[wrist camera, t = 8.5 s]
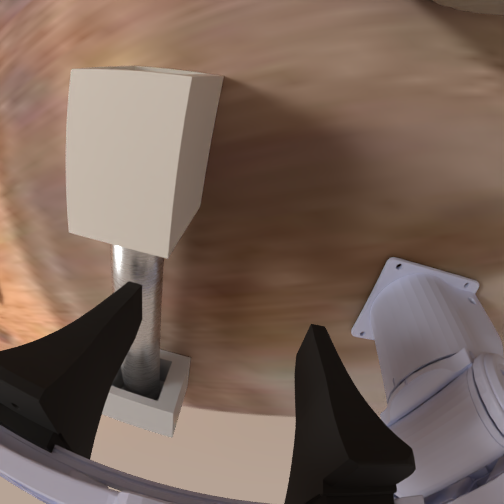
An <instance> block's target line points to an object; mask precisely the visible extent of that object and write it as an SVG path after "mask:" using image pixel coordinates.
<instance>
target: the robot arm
mask: <svg viewBox="0 0 504 504" xmlns="http://www.w3.org/2000/svg"><path fill="white" fill-rule="evenodd" d="M398 264H401V265H400V266H399V267H396V266H397V265H398ZM466 283H467V284H466ZM465 284H466V285H465ZM478 288H479V283H478V282H477V281H476V280H473V279H469V278H466V277H463V276H459V275H456V274H452V273H449V272H446V271H442V270H439V269H435V268H432V267H428V266H425V265H421V264H418V263H414V262H410V261H407V260H403V259H400V258H396V257H391V258H389V259H388V260H387V262H386V264H385V266H384V268H383V270H382V272H381V274H380V276H379V278H378V280H377V282H376V284H375V286H374V288H373V290H372V292H371V294H370V296H369V298H368V300H367V302H366V304H365V306H364V308H363V309H362V311H361V313H360V315H359V317H358V319H357V321H356V322H355V324H354V326H353V328H352V330H351V332H352V335H353V336H355V337H360V338H366V339H371V340H375V344H376V349H377V353H378V358H379V363H380V368H381V373H382V378H383V383H384V388H385V393H386V399H387V404H388V406H387V408H386V409H385V410H384V411H383V412H382V413H381V414H380V417H381V419H380V418H379V417H378V416H377V414H376V413H375V412H374V411H373V410H372V409H371V407H370V406H369V405H368V403H367V402H366V401H365V399H364V398H363V397H362V395H361V394H360V392H359V391H358V389H357V388H356V386H355V385H354V383H353V381H352V380H351V378H350V376H349V374H348V373H347V371H346V369H345V367H344V365H343V363H342V361H341V359H340V357H339V355H338V353H337V351H336V349H335V347H334V345H333V343H332V341H331V338H330V336H329V334H328V332H327V330H326V328H325V327H324V326H319V325H314V324H311V325H310V327H309V330H308V332H307V334H306V336H305V338H304V340H303V342H302V345H301V347H300V349H299V351H298V353H297V355H296V365H295V408H296V430H295V441H294V449H293V457H292V465H291V471H290V477H289V483H288V489H287V494H286V499H285V503H284V504H504V358H503V357H504V354H503V345H502V341H501V338H500V336H499V334H498V333H497V331H496V329H495V327H494V325H493V324H492V322H491V320H490V318H489V317H488V315H487V313H486V311H485V310H484V308H483V306H482V305H481V303H480V301H479V300H478V298H477V297H476V295H475V293H476V291H477V290H478ZM142 319H143V318H142V285H141V284H138V283H134V282H130V281H129V282H127V283H126V284H124V285H123V286H122V287H121V288H119V289H118V290H117V291H116V292H114V293H113V294H112V295H110V296H109V297H108V298H107V299H105V300H104V301H103V302H101V303H100V304H99V305H97V306H96V307H95V308H93V309H92V310H90V311H89V312H87V313H86V314H84V315H83V316H81V317H80V318H79V319H77V320H75V321H74V322H72V323H70V324H69V325H67V326H65V327H63V328H62V329H60V330H58V331H56V332H54V333H52V334H49V335H47V336H45V337H43V338H41V339H38V340H36V341H33V342H30V343H27V344H24V345H21V346H18V347H15V348H11V349H7V350H3V351H0V476H1V477H3V478H5V479H6V480H7V481H9V482H11V483H12V484H14V485H15V486H17V487H19V488H20V489H22V490H23V491H25V492H27V493H28V494H30V495H32V496H34V497H35V498H37V499H39V500H41V501H43V502H45V503H46V504H267V503H258V502H250V501H242V500H235V499H229V498H223V497H217V496H212V495H207V494H202V493H197V492H192V491H188V490H183V489H179V488H175V487H171V486H167V485H164V484H160V483H156V482H153V481H149V480H146V479H143V478H140V477H136V476H133V475H130V474H127V473H124V472H121V471H119V470H116V469H113V468H110V467H107V466H105V465H102V464H99V463H97V462H94V461H92V460H90V457H91V452H92V448H93V444H94V439H95V435H96V432H97V428H98V425H99V421H100V418H101V415H102V412H103V408H104V405H105V402H106V399H107V397H108V394H109V391H110V388H111V386H112V383H113V381H114V379H115V377H116V375H117V373H118V371H119V369H120V367H121V365H122V363H123V361H124V359H125V357H126V355H127V354H128V352H129V350H130V348H131V346H132V344H133V342H134V340H135V338H136V335H137V333H138V330H139V327H140V325H141V322H142ZM361 332H363V333H361ZM108 486H109V487H112V488H114V489H117V490H120V491H121V492H118V491H115V490H111V489H108Z"/></svg>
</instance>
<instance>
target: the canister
mask: <svg viewBox="0 0 504 504" xmlns="http://www.w3.org/2000/svg"><path fill="white" fill-rule="evenodd" d="M432 1H434V2H436V3H437V4H439V5H442V6H449V7H452V8H454V9H457V10H460V11H471V12H474V13H481V14H494V15H504V0H432Z"/></svg>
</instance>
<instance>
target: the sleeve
mask: <svg viewBox="0 0 504 504" xmlns="http://www.w3.org/2000/svg"><path fill="white" fill-rule="evenodd" d="M223 78H224V76H221V75H215V74H208V73H201V72H194V71H186V70H178V69H168V68H158V67H146V66H106V67H89V68H77V69H71V76H70V85H69V96H68V110H67V128H66V194H67V213H68V227H69V233H73V234H77V235H80V236H84V237H87V238H91V239H95V240H98V241H102V242H106V243H110V244H113V245H117V246H121V247H125V248H128V249H132V250H136V251H140V252H144V253H147V254H151V255H155V256H159V257H163V258H167V259H168V258H169V256H170V254H171V253H172V251H173V250H174V248H175V246H176V245H177V243H178V241H179V240H180V238H181V236H182V235H183V233H184V232H185V230H186V228H187V227H188V225H189V224H190V222H191V220H192V219H193V217H194V216H195V214H196V213H197V211H198V209H199V208H200V205H201V199H202V192H203V186H204V180H205V174H206V168H207V162H208V156H209V151H210V145H211V139H212V134H213V129H214V123H215V118H216V113H217V108H218V103H219V98H220V93H221V88H222V83H223Z"/></svg>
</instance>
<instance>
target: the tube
mask: <svg viewBox="0 0 504 504" xmlns="http://www.w3.org/2000/svg"><path fill="white" fill-rule="evenodd" d="M163 266H164V258H163V257H159V256H155V255H151V254H147V253H144V252H140V251H136V250H132V249H128V248H125V247H121V246H117V245H113V244H111V268H112V286H113V293H114V292H116V291H117V290H118V289H119V288H121V287H122V286H123V285H124V284H126V283H127V282H129V281H130V282H134V283H138V284H141V285H142V318H143V319H142V322H141V325H140V327H139V330H138V333H137V335H136V338H135V340H134V342H133V344H132V346H131V348H130V350H129V352H128V354H127V355H126V357H125V359H124V361H123V363H122V365H121V369H122V376H123V382H124V388H125V391H128V392H131V393H134V394H137V395H140V396H143V397H147V398H150V399H153V400H156V399H157V398H158V396H159V394H160V331H161V302H162V282H163Z"/></svg>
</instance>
